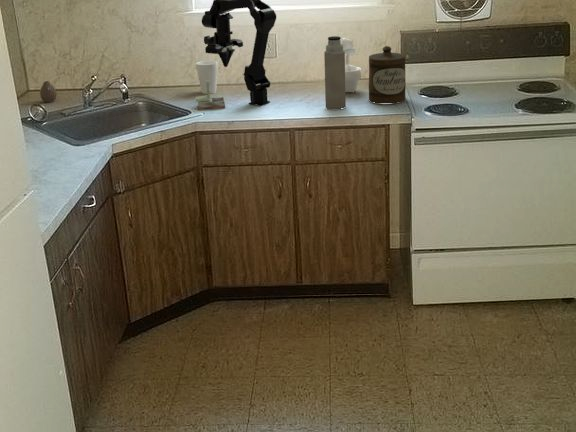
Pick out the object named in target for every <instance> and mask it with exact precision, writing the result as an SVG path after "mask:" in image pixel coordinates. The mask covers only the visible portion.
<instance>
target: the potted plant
mask: <svg viewBox="0 0 576 432" xmlns="http://www.w3.org/2000/svg"><path fill="white" fill-rule="evenodd" d="M337 36H338V37H340V36H339V35H337ZM341 45H343V50H344V51H345V92H352V93H354V92H353V91H355V90H357V87H358V85H359V81H360V79H362V68H361V67H359V66H355V65H353V64H350V56H352V55H354V54H355V52H356V48H354V42H353V41H352V40H351V39H349V38H347V37H342V42H341ZM355 92H356V91H355Z"/></svg>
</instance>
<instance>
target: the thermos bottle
mask: <svg viewBox="0 0 576 432" xmlns="http://www.w3.org/2000/svg"><path fill="white" fill-rule="evenodd" d="M338 36H339V35H337V36H335V35H334V36H328V37H327V40H328V41H327V45H326V46H325V51H324V52H323V53H324V55H323V56H324V87H325V88H324V90H325V91H324V92H325V93H324V94H325V96H324V97H325V99H324V100H325V109H326V108H327V110H329V109H340V110H342V109H341V108H344V107H345V108H346V107H347V106H346V102H347V101H346V93H345V65H346V54H345V51H344V50H343V45H342V42H341V36H339V37H338ZM345 108H344V109H345Z"/></svg>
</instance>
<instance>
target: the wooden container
mask: <svg viewBox="0 0 576 432" xmlns="http://www.w3.org/2000/svg"><path fill="white" fill-rule="evenodd" d="M382 51H383V52H380V53H379V52H378V53H374V54H371V55H369V56H368V101H369V100H370V101H371V102H375V103H397V102H401V103H403V102H402V101H404V100H405V101H406V86H407V85H406V83H407V82H406V79H407V78H406V54H404V53H399V52H391V51H392V47H391V46H388V45H386V46H384V47H383V48H382ZM370 101H369V102H370ZM405 101H404V102H405ZM371 102H370V103H371ZM375 103H374V104H375Z"/></svg>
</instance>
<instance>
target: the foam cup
mask: <svg viewBox="0 0 576 432" xmlns="http://www.w3.org/2000/svg"><path fill="white" fill-rule="evenodd" d="M218 64H219V63H218V61H216V60H202V61H197V62H196V63H195V69H196V72H197V76H198V82H199V86H200V90H201V93H202V94H206V95H207V88H206V80H208V82H209V94H210V95H211V94H214V93H216V92H217V83H218V82H217V80H218V67H219V65H218Z"/></svg>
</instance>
